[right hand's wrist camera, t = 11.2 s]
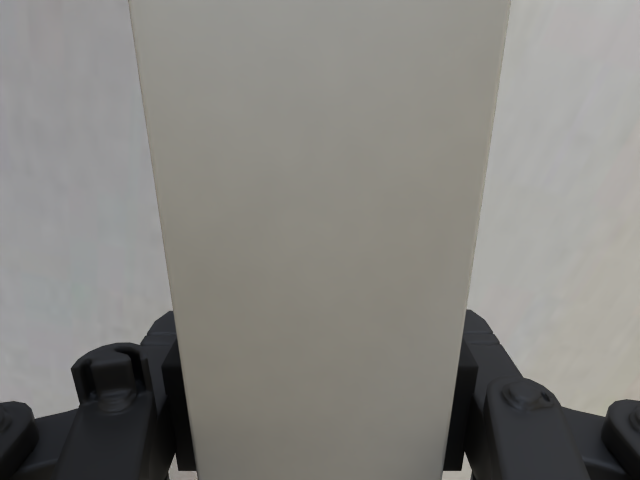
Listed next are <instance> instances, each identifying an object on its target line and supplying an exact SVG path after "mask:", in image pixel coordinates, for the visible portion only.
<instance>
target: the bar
mask: <svg viewBox="0 0 640 480" xmlns="http://www.w3.org/2000/svg"><path fill="white" fill-rule="evenodd" d="M128 3H129V10H130V17H131V24H132V30H133V37H134V44H135V51H136V58H137V65H138V72H139V78H140V85H141V92H142V99H143V106H144V113H145V120H146V126H147V133H148V140H149V147H150V154H151V161H152V168H153V174H154V181H155V188H156V195H157V202H158V209H159V216H160V223H161V229H162V236H163V243H164V250H165V257H166V264H167V271H168V277H169V284H170V291H171V298H172V305H173V312H174V319H175V325H176V332H177V339H178V346H179V353H180V360H181V367H182V373H183V380H184V387H185V394H186V401H187V408H188V415H189V421H190V428H191V435H192V442H193V449H194V456H195V463H196V470H197V476H198V480H442V473H443V466H444V459H445V452H446V445H447V438H448V432H449V425H450V418H451V411H452V404H453V397H454V390H455V383H456V376H457V370H458V363H459V356H460V349H461V342H462V335H463V328H464V321H465V314H466V308H467V301H468V294H469V287H470V280H471V273H472V266H473V259H474V252H475V246H476V239H477V232H478V225H479V218H480V211H481V204H482V197H483V190H484V184H485V177H486V170H487V163H488V156H489V149H490V142H491V135H492V128H493V122H494V115H495V108H496V101H497V94H498V87H499V80H500V73H501V67H502V60H503V53H504V46H505V39H506V32H507V25H508V18H509V11H510V5H511V0H128Z"/></svg>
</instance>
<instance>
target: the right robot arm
mask: <svg viewBox="0 0 640 480" xmlns="http://www.w3.org/2000/svg"><path fill="white" fill-rule="evenodd" d="M71 372H72V375H73V379H74V383H75V387H76V391H77V394H78V398H79V402H80V406H79V408H78V409H74V410H71V411H67V412H63V413H59V414H54V415H50V416H45V417H41V418H37V419H35V418H34V415H33V412H32V409H31V408H30V407H29V406H28V405H27V404H25V403H21V402H15V401H12V402H4V403H0V480H170V479H169V474H168V470H169V468H170V465H171V462H172V460H173V457H174V455H175V453H176V459H177V465H178V471H197V470H196V463H195V456H194V449H193V442H192V435H191V428H190V421H189V415H188V408H187V401H186V394H185V387H184V380H183V373H182V367H181V360H180V353H179V346H178V339H177V332H176V325H175V319H174V312H173V311H169V312H167V313H166V314H165V315H163V316H162V317H160V318H159V319H158V320H156V321H155V322H154V324H153V325H152V327H151V328H150V330H149V331H148V333H147V336H145V337H144V339H143V340H142V342H141V343H140V345H137V344H134V343H114V344H110V345H105V346H102V347H99V348H97V349H95V350H92V351H90V352H88V353H87V354H85V355H84V356H82V357H81V358H79V359H78V360H77V361H76V362H75V364H74V365H73V366H72V368H71ZM464 452H465V453H466V456H467V458H468V461H469V464H470V466H471V469H472V474H471V479H470V480H640V401H636V400H627V399H626V400H620V401H615V402H614V403H613V404H612V405H610V406H609V408H608V411H607V414H606V417H603V416H598V415H594V414H589V413H585V412H580V411H576V410H572V409H568V408H565V407H562V406H561V405H560V403H559V401H558V400H557V398H556V397H555V395H554V394H553V393H552V392H550V391H549V390H548V389H547V388H545V387H544V386H543V385H541V384H538V383H536V382H534V381H532V380H530V379H527V378H523V376H522V375H521V373H520V372H519V370H518V369H517V367H516V366H515V364H514V363H513V361H512V360H511V358H510V357H509V355H508V354H507V352H506V351H505V349H504V348H503V346H502V345H501V344H500V342H499V340H498V339H497V337H496V336H495V334H493V331H492V330H491V328H490V327H489V325H488V324H487V322H486V321H485V320H484V319H483V318H481V317H480V316H479V315H477V314H476V313H474V312H473V311H472V310H466V314H465V321H464V328H463V335H462V342H461V349H460V356H459V363H458V370H457V376H456V383H455V390H454V397H453V404H452V411H451V418H450V425H449V432H448V438H447V445H446V452H445V459H444V466H443V471H461V470H462V464H463V458H464Z"/></svg>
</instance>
